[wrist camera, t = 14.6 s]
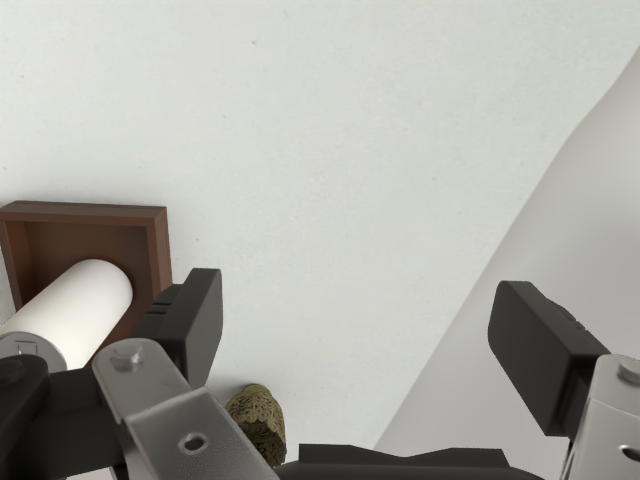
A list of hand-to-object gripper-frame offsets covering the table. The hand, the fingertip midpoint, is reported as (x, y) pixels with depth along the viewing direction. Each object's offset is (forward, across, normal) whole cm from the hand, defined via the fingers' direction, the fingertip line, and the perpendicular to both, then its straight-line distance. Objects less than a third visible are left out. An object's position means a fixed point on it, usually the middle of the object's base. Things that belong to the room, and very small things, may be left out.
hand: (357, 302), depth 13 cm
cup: (+28, +6, +28) cm, 40 cm away
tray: (+28, +21, +15) cm, 38 cm away
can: (+28, +21, +15) cm, 38 cm away
